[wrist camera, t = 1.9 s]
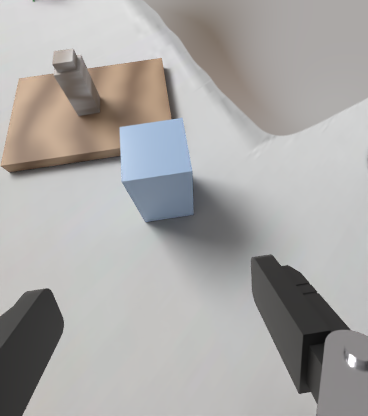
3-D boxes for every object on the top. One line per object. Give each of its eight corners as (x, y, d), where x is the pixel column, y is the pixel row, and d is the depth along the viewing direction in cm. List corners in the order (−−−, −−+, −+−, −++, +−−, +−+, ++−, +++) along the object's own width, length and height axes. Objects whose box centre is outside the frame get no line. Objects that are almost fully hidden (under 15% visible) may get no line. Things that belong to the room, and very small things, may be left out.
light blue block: (186, 173, 29) (182, 117, 21) (193, 214, 27) (192, 171, 18) (142, 180, 29) (119, 127, 20) (145, 222, 27) (121, 181, 18)
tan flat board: (162, 67, 37) (154, 2, 29) (175, 147, 31) (168, 92, 23) (25, 87, 37) (-21, 27, 29) (9, 172, 30) (-56, 125, 23)
